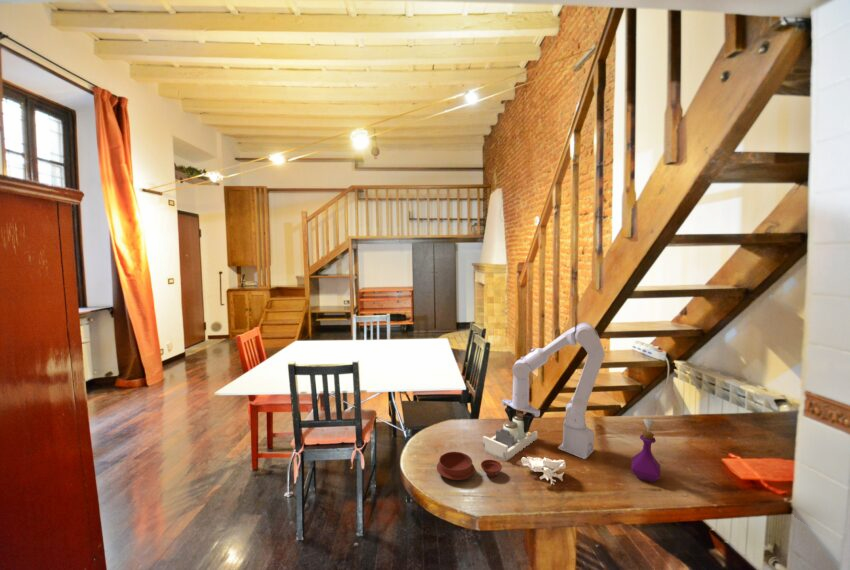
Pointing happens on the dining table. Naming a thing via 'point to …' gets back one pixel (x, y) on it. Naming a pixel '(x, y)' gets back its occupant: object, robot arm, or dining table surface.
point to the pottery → (464, 466)
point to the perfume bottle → (646, 457)
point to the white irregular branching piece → (545, 467)
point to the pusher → (505, 437)
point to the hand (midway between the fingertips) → (519, 429)
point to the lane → (502, 450)
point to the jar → (519, 424)
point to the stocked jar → (512, 429)
